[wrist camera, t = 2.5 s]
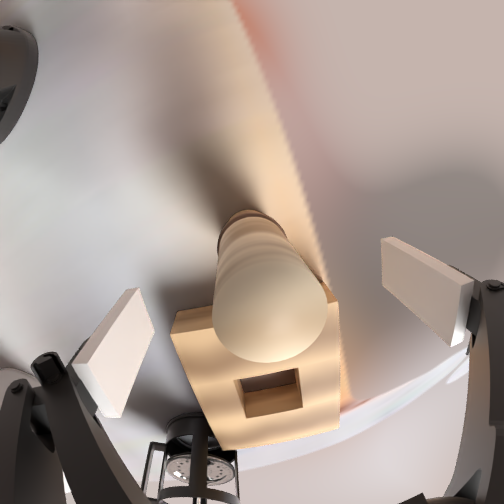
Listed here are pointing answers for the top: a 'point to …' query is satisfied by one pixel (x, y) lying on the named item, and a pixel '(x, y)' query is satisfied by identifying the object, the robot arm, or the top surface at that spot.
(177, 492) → the french press
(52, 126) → the top surface
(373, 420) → the top surface
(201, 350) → the board
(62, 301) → the top surface
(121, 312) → the robot arm
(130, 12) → the top surface
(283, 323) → the peg
